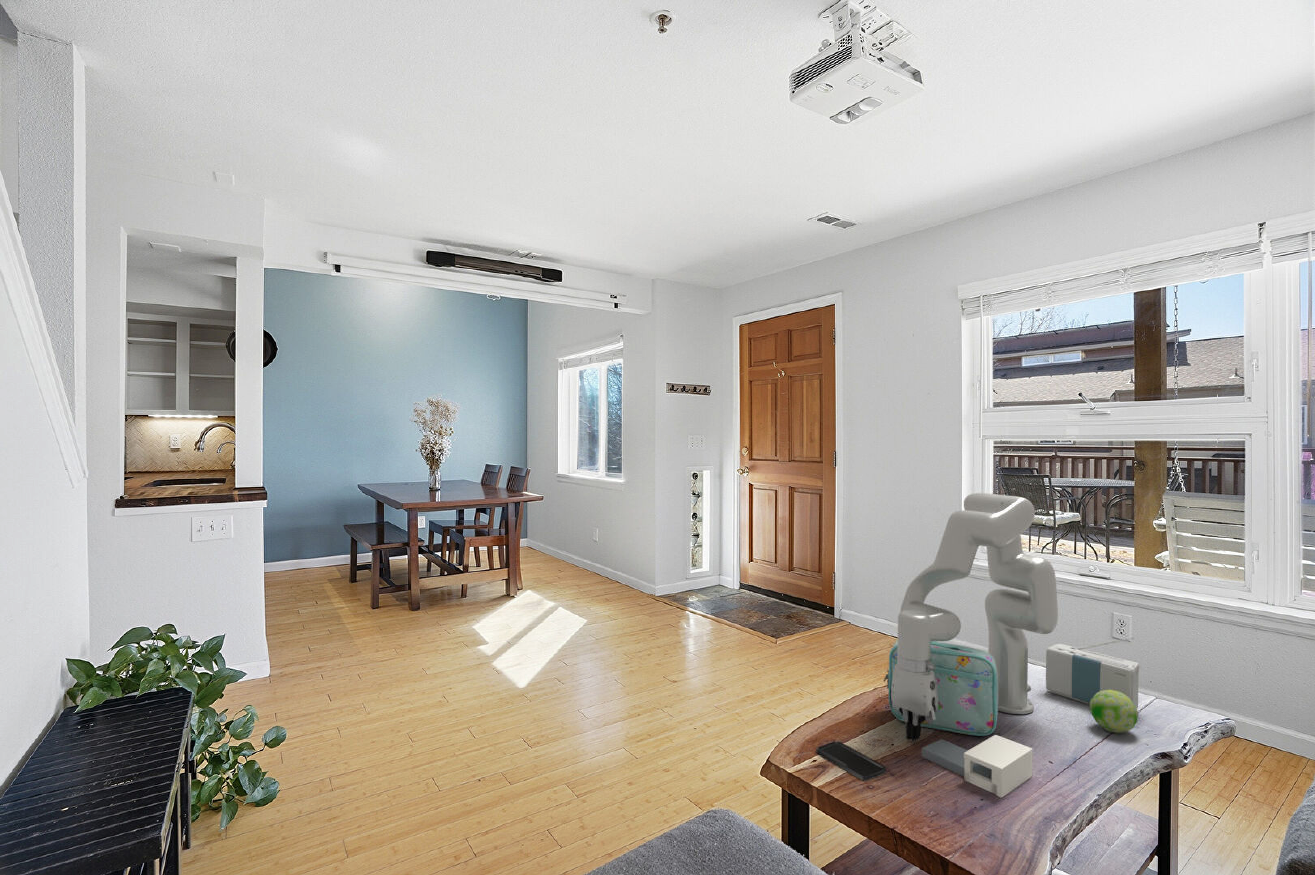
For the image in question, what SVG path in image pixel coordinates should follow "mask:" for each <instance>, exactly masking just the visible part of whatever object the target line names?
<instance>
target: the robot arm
mask: <svg viewBox="0 0 1315 875" xmlns="http://www.w3.org/2000/svg"><path fill="white" fill-rule="evenodd" d="M963 508H964V510H957V511H955V512H952V514H950V516H949V517H948V520H947V523H946V525H945V529H944V532H943V534H942V538H941V541H940V544H939V546H938V547H939V548H938V550H937V553H936V555H935V556H936V557H935V559H934V561H933V562H932V564H931V565H929V566H928V567H926V568H924V569H923V570H922V571H921V572H920V573H918V575H916V576H915V578H914V579H913V580H912V581H911V582H910V583H909V585H908V587H907V588H906V592H905V593H904V597H903V599H902V603H901V605H900V610H899V611H900V612H899V613H898V616H897V640H898V654H897V664H896V665H895V669H894V673H893V678H892V688H891V699H892V702H893V703H892V706H893V707H894V708H895V709H897V710H898V711H900V713H901V714H902V716H903V719H904V721H905V733H906V739H907V740H910V741H911V742H914V741H917V740H918V739H920V738H921V735H922V726H921V723H922V722H924V721H927V722H933V721H935V720H936V717H935V713H934V712H937V711H938V692H937V683H936V678H935V674H934V672H933V671H931V670H935V669H936V666H935V665H934V664H932V663H931V642H932V641H937V642H949V641H952V640H953V639H955V638H956V637H957V636H958V635H959V634H960V632H961V628H962V625H961V623H962V622H961V621H960V617H958V615H957V614H955V612H952V611H951V610H948V609H945V608H942V607H938V606H935V605H931V604H928V603H925V601H926V598H927V596H929V594H930V593H931V592H932V591H933V590H934V589H936V588H937V587H939V586H941V585H944V584H947V583H950V582H954V581H959V580H962V579H966V578H967V577H969V575H970V574H971V570H972V567H973V564H974V561H975V558H976V555H977V552H978V550H979V547H982V546H983V547H986V554H987V569H988V575H989V579H990V580H991V581H992V582H993V584H995V585H999V586H1001V587H1006V588H994V589H992V590H991V591H989V592H988V594H986V597H985V600H984V610H985V615H986V621H987V628H988V630H987V631H988V645H987V646H988V649H987V650H988V652H987V653H989V654H990V655H991V656H992V657H993V658H994V660H995V662H996V667H997V675H998V712H1002V713H1006V714H1013V715H1027V714H1031V713H1032V712H1034V710H1035V705H1034V703H1033V702H1032V701H1031V700H1030V699H1028V693H1029V692H1031V690H1032V687H1031V686H1030V684H1028V678H1029V677H1028V672H1029V671H1028V669H1029V668H1028V667H1029V666H1028V665H1029V664H1028V663H1029V662H1028V661H1029V643H1028V639H1027V637H1026V635H1025V632H1024V631H1027V632H1030V633H1035V634H1040V635H1049V634H1051V633H1053V632H1054V630H1055V629H1056V628H1057V625H1058V619H1059V611H1058V610H1059V607H1058V594H1057V592H1058V591H1057V578H1056V572H1055V568H1054V567H1053V565H1052V563H1051V562H1050V561H1049V560H1048V559H1046V558H1044V557H1040V556H1036V555H1030V554H1026V553H1025V552H1024V550H1023V544H1022V537H1021V535H1022V534H1023V533H1024V532H1026V531H1027V530H1028V529H1029V528H1030V527H1031V525H1032V524H1033V522H1034V520H1035V514H1036V512H1035V506H1034V504H1033V503H1032V502H1031V501H1030V500H1029V499H1028V498H1025V497H1021V496H1016V495H1005V494H1003V495H1002V494H997V493H996V494H995V493H985V492H983V493H982V492H974V493H970V494H969V495H967V496H966V497H965V498H964V500H963ZM1008 588H1009V589H1008ZM1013 589H1015V590H1013ZM1016 590H1017V591H1016ZM1021 591H1023V592H1021ZM1025 592H1027V593H1025ZM904 721H903V722H904Z"/></svg>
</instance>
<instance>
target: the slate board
mask: <svg viewBox="0 0 1315 875" xmlns="http://www.w3.org/2000/svg"><path fill="white" fill-rule="evenodd" d="M968 750H969V749H965V748H963V747H961V746H958V745H956V744H954V743H953V742H949V741H948V740H945V739H944V738H941V739H939V740H937V741H934V742H932V743H930V744H928V745H926V746H924V747H921V757H922V758H924V759H927V760H928V761H930V762H932V763H935V764H937V765H939V766H941V767H943V768H945V769H947V770H948V771H949V770H950V771H952V772H954V773H955V774H958V775H959V776H962V777H964V761H965V758H964V753H965V752H967V751H968ZM973 772H975V773H977V774H979V775H982V776H984V777H986V778H988V779H991V780H992V769H990V768H987V767H985V766H982V765H980V764H978V763H975V762H973Z"/></svg>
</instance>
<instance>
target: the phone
mask: <svg viewBox="0 0 1315 875" xmlns="http://www.w3.org/2000/svg"><path fill="white" fill-rule="evenodd" d="M815 753H816V754H818V755H819V756H821V757H822V758H823V759H825V760H827V761H829V762H830V763H832V764H834V765H835V766H838V767H839V768H840V769H842V770H844V771H846V772H847V773H849V774H850V775H853V776H854V777H856V778H858V779H859V780H861V781H864V782H866V781H870V780H873V779H876V778H879V777H880V776H883V775H885V774H887V772H888V771H887V767H886V766H885V765H883V764H881V763H880V762H878V761H876V760H874V759H873V758H871V757H869V756H867V755H865V754H863V753H861V752H859V751H858V750H856V749H854V748H852V747H851V746H848V745H847V744H845V743H843V742H841V741H837V740H835V741H832V742H829V743H826V744H823V745H820V746H818V747H816V749H815Z"/></svg>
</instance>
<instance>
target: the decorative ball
mask: <svg viewBox="0 0 1315 875" xmlns="http://www.w3.org/2000/svg"><path fill="white" fill-rule="evenodd" d="M1089 709H1090V714H1091V716H1092V718H1093V719H1094V722H1096V724H1097V725H1099V726H1100V727H1102V728H1103V729H1105V730H1106V731H1109V732H1112V733H1117V734H1119V733H1126V732H1129V731H1131V730H1133V729H1134V727H1136V724H1137V722H1138V719H1139V718H1138V717H1139V711H1138V708H1136V707H1135V705H1134V703H1133V702H1132V700H1130V698H1129V697H1127V696H1126V695H1125V694H1123V693H1121V692H1118V691H1114V690H1102V691H1100V692H1098V693H1096V694H1095V696H1094V697H1093V698H1092V699H1091V701H1090V704H1089Z"/></svg>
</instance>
